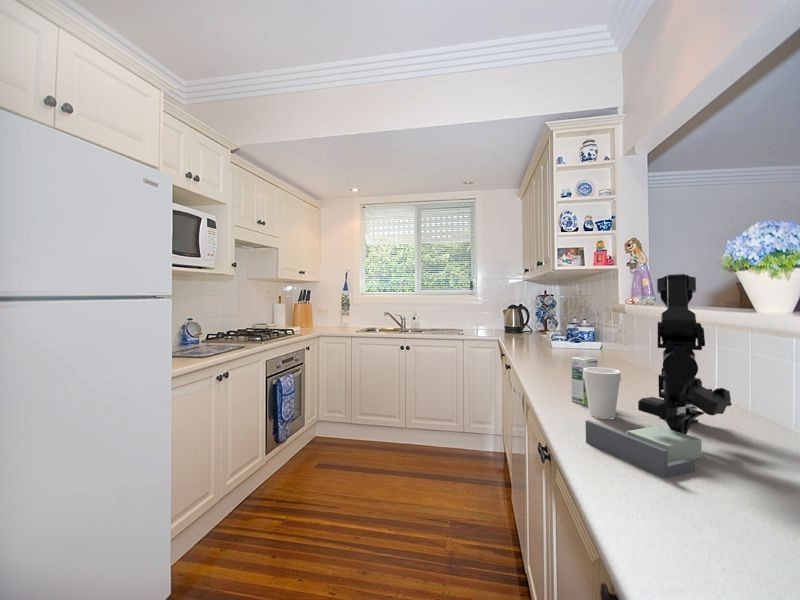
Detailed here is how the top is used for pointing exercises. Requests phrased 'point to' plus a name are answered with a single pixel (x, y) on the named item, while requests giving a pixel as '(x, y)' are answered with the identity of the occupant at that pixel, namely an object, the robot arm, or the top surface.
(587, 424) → the stand
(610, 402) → the foam cup
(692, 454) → the carton
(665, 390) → the robot arm
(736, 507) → the top surface
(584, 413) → the top surface
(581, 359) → the syrup box
